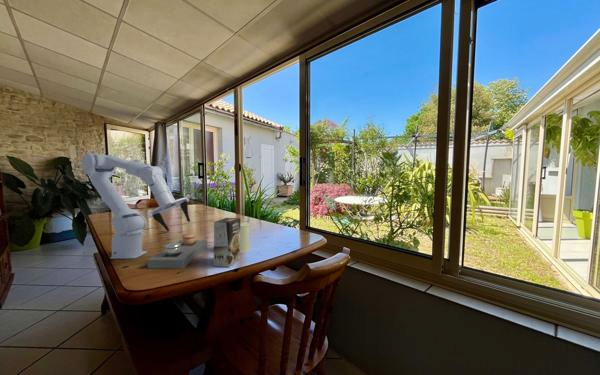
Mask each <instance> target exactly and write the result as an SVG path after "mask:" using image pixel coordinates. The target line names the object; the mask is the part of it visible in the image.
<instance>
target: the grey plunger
mask: <svg viewBox="0 0 600 375" xmlns="http://www.w3.org/2000/svg"><path fill="white" fill-rule="evenodd" d="M180 246H181V243H177V242H169V243H165V244H164V249H166V257H176V256H178V255H180V248H179V247H180Z"/></svg>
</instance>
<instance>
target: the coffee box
mask: <svg viewBox="0 0 600 375" xmlns="http://www.w3.org/2000/svg"><path fill="white" fill-rule="evenodd" d="M240 222H241V218H240V217H239V218H238V217H225V218H221V219H218V220H215V221H213V266H214V267H221V268H222V267H223V268H230V267H232V266H233V265H234V264H236V263H237V262H238V261H240V260H241V253H240Z"/></svg>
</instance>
